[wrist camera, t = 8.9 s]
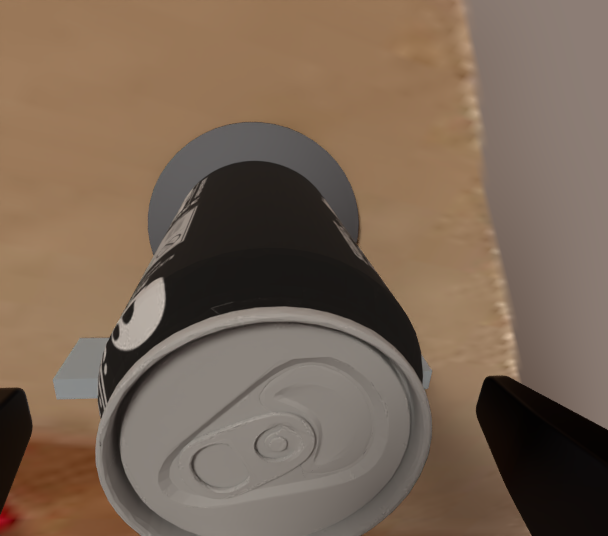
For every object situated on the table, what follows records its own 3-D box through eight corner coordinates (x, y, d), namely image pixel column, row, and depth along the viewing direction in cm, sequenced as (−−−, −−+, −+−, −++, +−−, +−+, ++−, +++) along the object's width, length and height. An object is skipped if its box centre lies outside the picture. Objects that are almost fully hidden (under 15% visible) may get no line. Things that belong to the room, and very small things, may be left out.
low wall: (405, 351, 22) (428, 388, 19) (82, 356, 20) (56, 399, 17) (408, 335, 22) (432, 371, 19) (80, 338, 19) (52, 379, 17)
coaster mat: (345, 318, 21) (346, 322, 20) (157, 319, 19) (155, 323, 19) (368, 129, 17) (371, 130, 17) (141, 114, 16) (138, 114, 16)
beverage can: (351, 266, 19) (491, 501, 8) (223, 323, 20) (195, 622, 9) (294, 129, 17) (391, 212, 6) (146, 198, 17) (-34, 403, 6)
